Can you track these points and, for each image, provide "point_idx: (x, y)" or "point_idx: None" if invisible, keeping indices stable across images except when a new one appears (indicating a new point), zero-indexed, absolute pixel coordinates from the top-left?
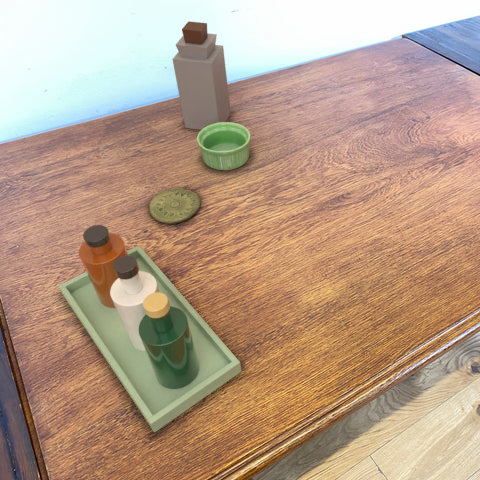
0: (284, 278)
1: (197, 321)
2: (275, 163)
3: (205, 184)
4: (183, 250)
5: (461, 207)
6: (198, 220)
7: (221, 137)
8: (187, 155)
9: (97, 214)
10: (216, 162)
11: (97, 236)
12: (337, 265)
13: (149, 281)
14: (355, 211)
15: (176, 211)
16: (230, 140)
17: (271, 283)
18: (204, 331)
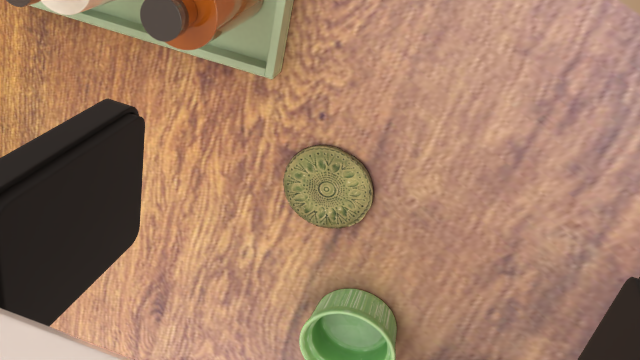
0: None
1: (87, 14)
2: (282, 336)
3: (332, 252)
4: (240, 116)
5: None
6: (275, 179)
7: (381, 354)
8: (418, 299)
9: (430, 102)
10: (335, 298)
11: (150, 14)
12: None
13: (55, 2)
14: (128, 294)
15: (310, 176)
16: (370, 355)
17: None
18: None
